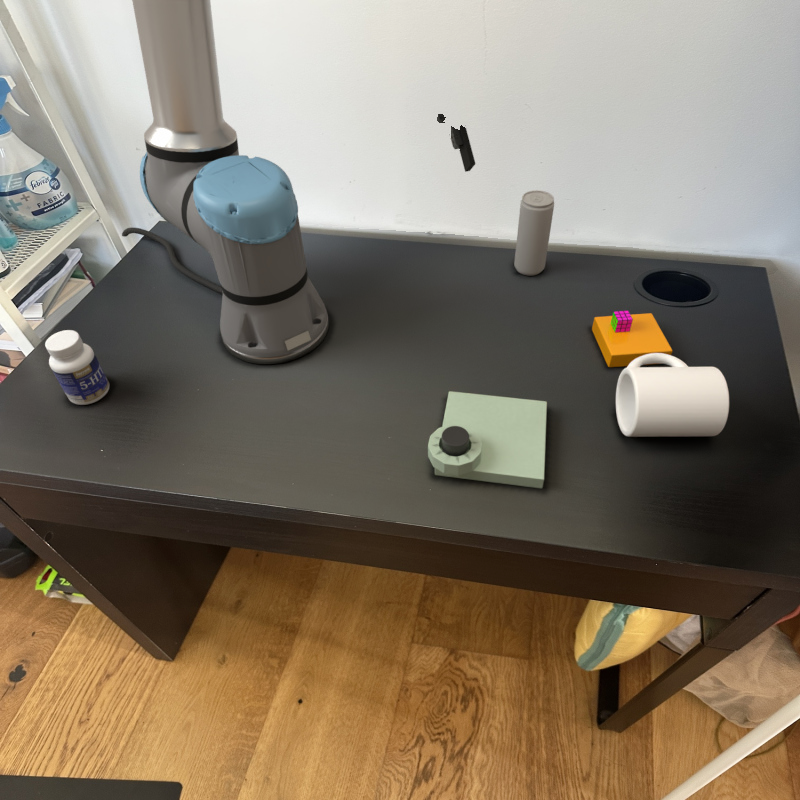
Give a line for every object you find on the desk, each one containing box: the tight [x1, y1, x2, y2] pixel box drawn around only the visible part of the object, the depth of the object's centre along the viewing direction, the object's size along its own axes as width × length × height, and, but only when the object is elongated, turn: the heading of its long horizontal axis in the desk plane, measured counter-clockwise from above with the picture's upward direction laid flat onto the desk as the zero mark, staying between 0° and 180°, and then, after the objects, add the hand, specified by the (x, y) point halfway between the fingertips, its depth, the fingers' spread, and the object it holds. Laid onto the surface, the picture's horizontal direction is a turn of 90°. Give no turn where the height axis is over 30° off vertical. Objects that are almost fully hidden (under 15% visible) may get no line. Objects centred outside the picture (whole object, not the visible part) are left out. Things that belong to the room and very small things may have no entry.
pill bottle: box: [44, 329, 110, 406], centre depth 80 cm, size 5×5×9 cm
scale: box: [427, 391, 548, 489], centre depth 73 cm, size 13×13×4 cm
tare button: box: [442, 426, 469, 456], centre depth 69 cm, size 3×3×2 cm
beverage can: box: [513, 189, 555, 277], centre depth 94 cm, size 5×5×12 cm
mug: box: [615, 353, 730, 438], centre depth 73 cm, size 12×10×8 cm
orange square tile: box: [591, 310, 673, 368], centre depth 84 cm, size 8×8×4 cm
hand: (511, 159), depth 95 cm, fingers open, 13 cm apart
